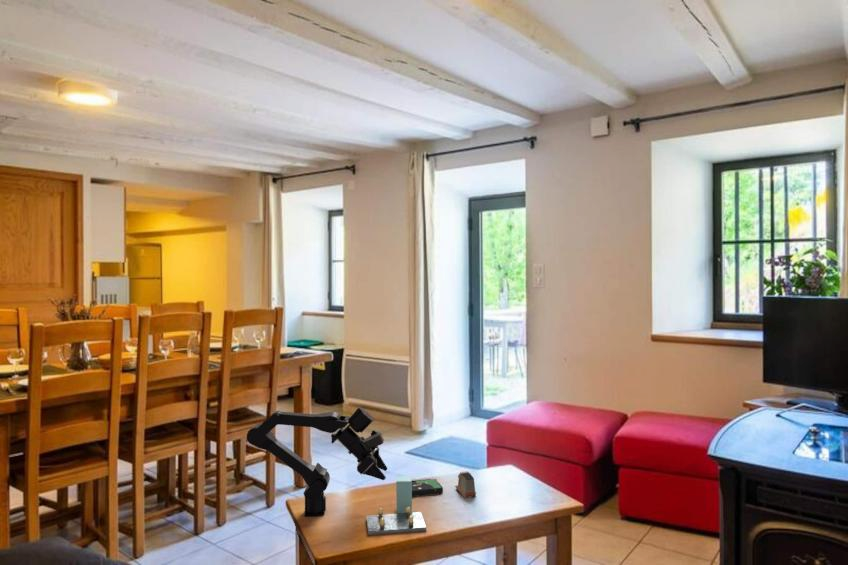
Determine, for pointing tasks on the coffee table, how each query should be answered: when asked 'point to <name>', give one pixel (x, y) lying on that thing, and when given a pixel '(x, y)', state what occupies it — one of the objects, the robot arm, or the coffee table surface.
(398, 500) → the teal block
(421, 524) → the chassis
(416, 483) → the disk drive
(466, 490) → the electronic device
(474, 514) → the coffee table surface
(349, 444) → the robot arm
